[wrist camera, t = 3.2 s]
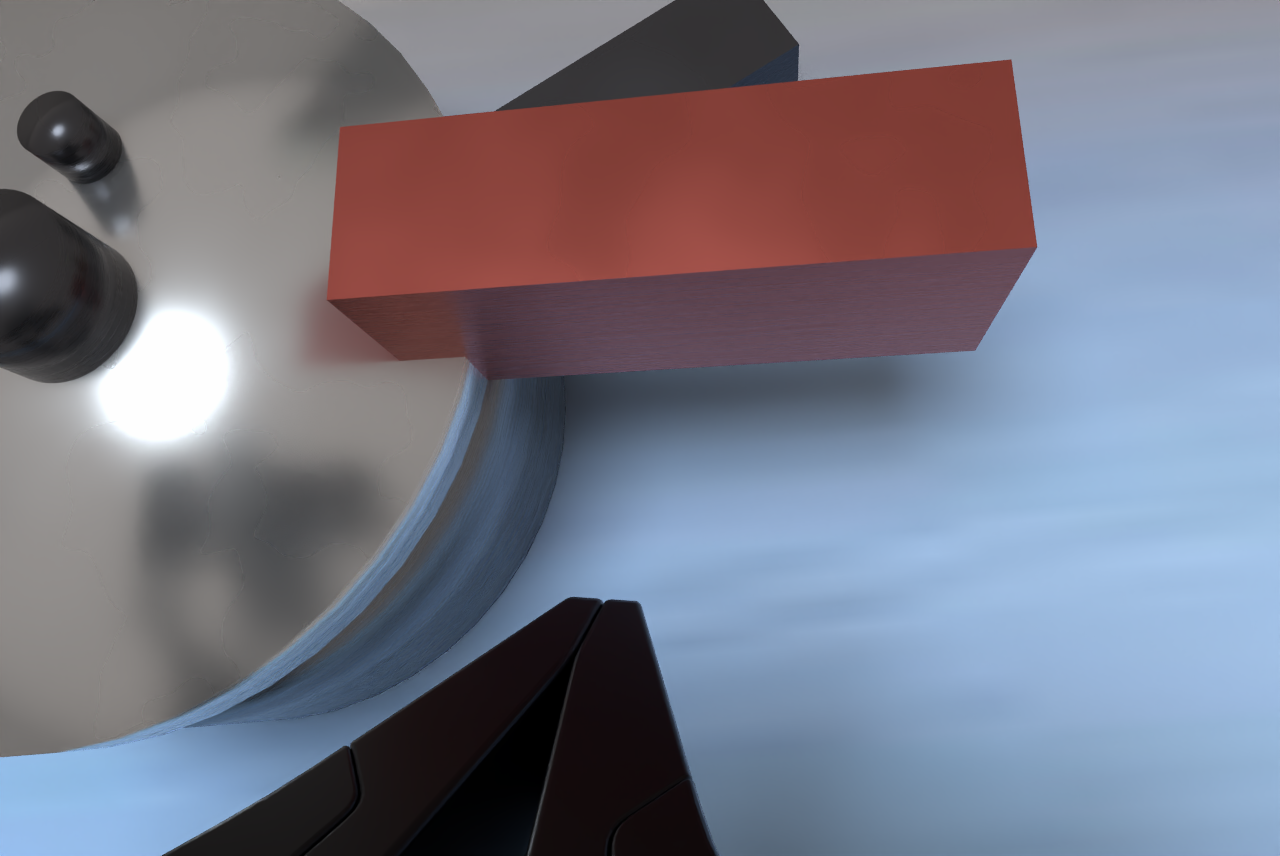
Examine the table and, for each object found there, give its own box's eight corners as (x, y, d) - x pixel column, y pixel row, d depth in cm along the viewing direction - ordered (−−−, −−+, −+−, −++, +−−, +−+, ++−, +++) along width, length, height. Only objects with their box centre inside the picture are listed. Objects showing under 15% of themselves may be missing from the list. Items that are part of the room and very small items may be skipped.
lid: (1020, 745, 13) (1109, 769, 10) (-437, 754, 16) (-770, 775, 13) (924, -93, 17) (962, -296, 13) (-248, 51, 20) (-466, -82, 17)
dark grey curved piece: (937, 348, 21) (996, 226, 16) (46, 904, 21) (-231, 989, 15) (626, -58, 25) (582, -273, 20) (-123, 402, 25) (-392, 319, 19)
